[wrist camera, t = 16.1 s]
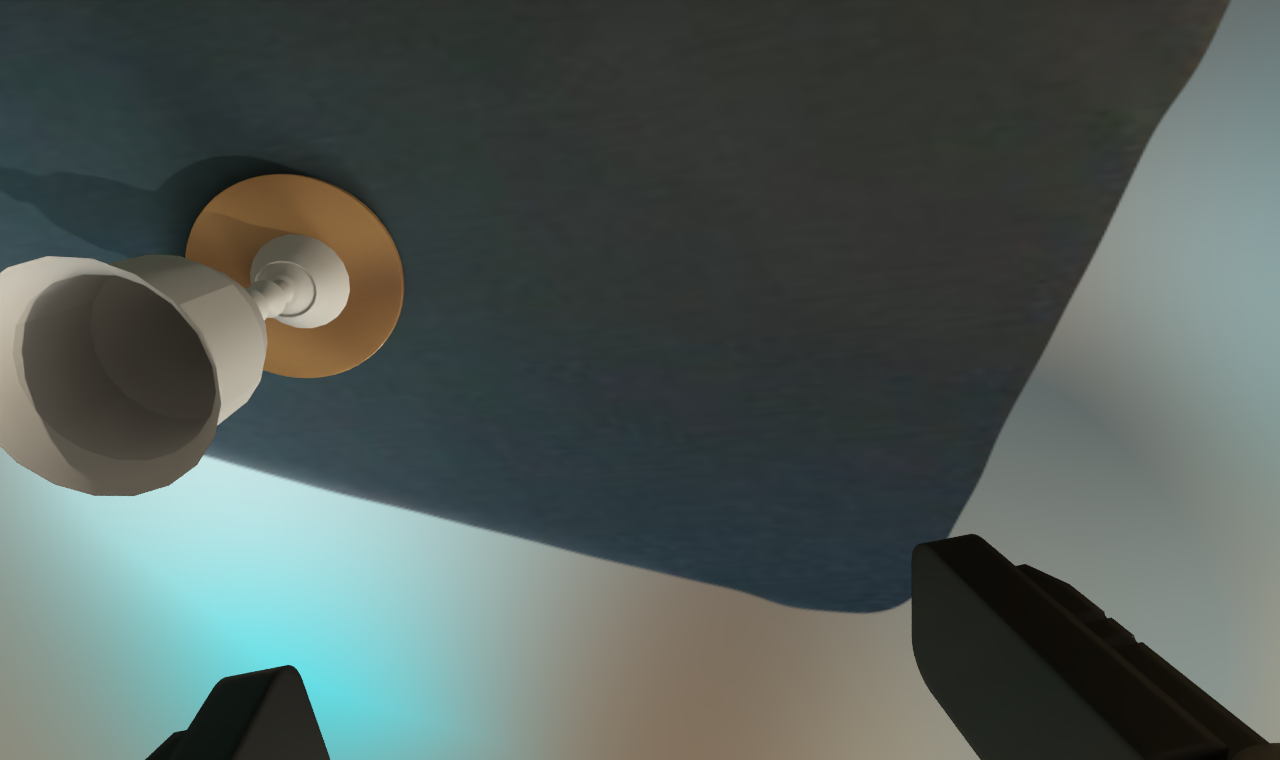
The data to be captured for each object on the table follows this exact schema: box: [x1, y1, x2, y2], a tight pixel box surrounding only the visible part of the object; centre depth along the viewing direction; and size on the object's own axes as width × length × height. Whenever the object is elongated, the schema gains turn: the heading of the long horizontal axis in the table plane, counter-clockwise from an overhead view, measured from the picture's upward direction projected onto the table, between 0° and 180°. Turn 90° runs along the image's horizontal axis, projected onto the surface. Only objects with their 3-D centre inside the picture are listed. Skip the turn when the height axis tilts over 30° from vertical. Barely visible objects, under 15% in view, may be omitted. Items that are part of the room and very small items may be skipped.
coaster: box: [185, 174, 404, 378], centre depth 37 cm, size 11×11×1 cm
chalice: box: [0, 234, 350, 496], centre depth 28 cm, size 7×7×18 cm
